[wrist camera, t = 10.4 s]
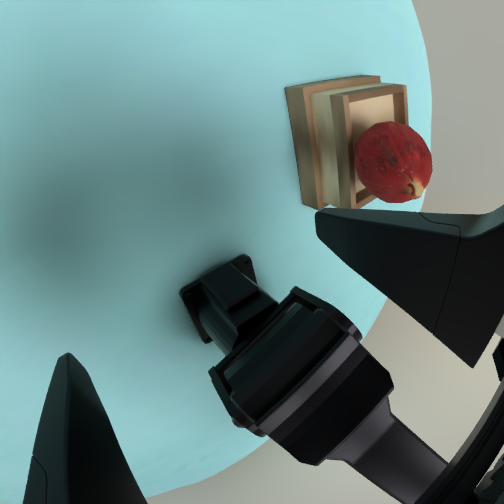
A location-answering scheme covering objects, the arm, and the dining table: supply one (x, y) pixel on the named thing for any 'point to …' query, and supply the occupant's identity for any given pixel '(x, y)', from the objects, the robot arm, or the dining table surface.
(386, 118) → the pedestal
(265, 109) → the dining table surface
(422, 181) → the pomegranate
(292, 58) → the dining table surface
